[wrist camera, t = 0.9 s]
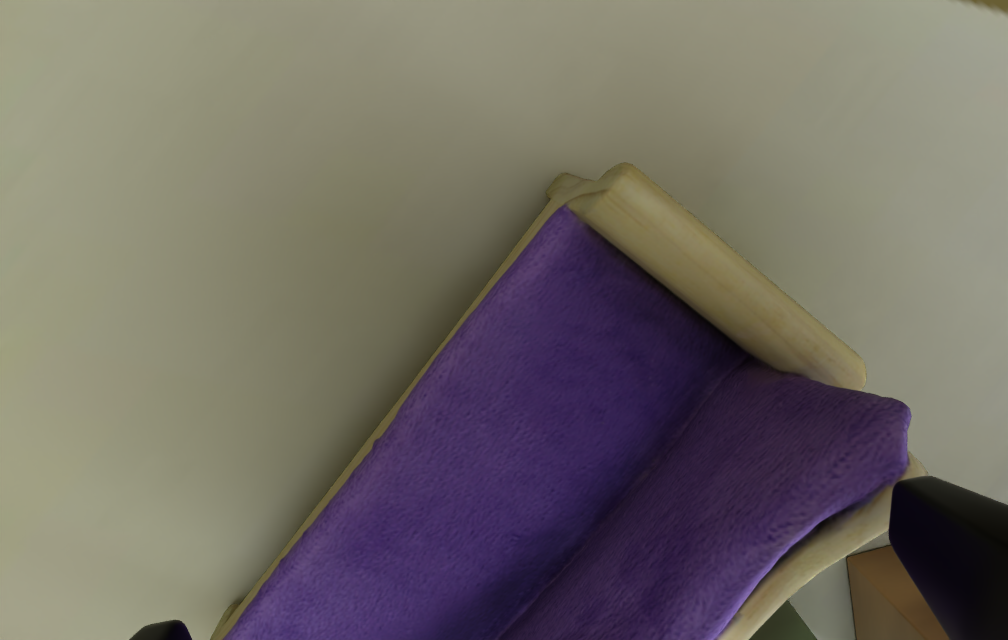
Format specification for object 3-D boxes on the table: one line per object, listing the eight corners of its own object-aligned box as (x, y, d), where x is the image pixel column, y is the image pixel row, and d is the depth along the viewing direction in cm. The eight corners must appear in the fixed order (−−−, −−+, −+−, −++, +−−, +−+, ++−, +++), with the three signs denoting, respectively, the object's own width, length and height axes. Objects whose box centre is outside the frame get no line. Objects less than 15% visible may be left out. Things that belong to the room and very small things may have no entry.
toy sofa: (570, 148, 21) (679, 151, 11) (763, 309, 23) (1003, 433, 13) (206, 619, 24) (40, 946, 14) (402, 726, 26) (375, 1080, 16)
